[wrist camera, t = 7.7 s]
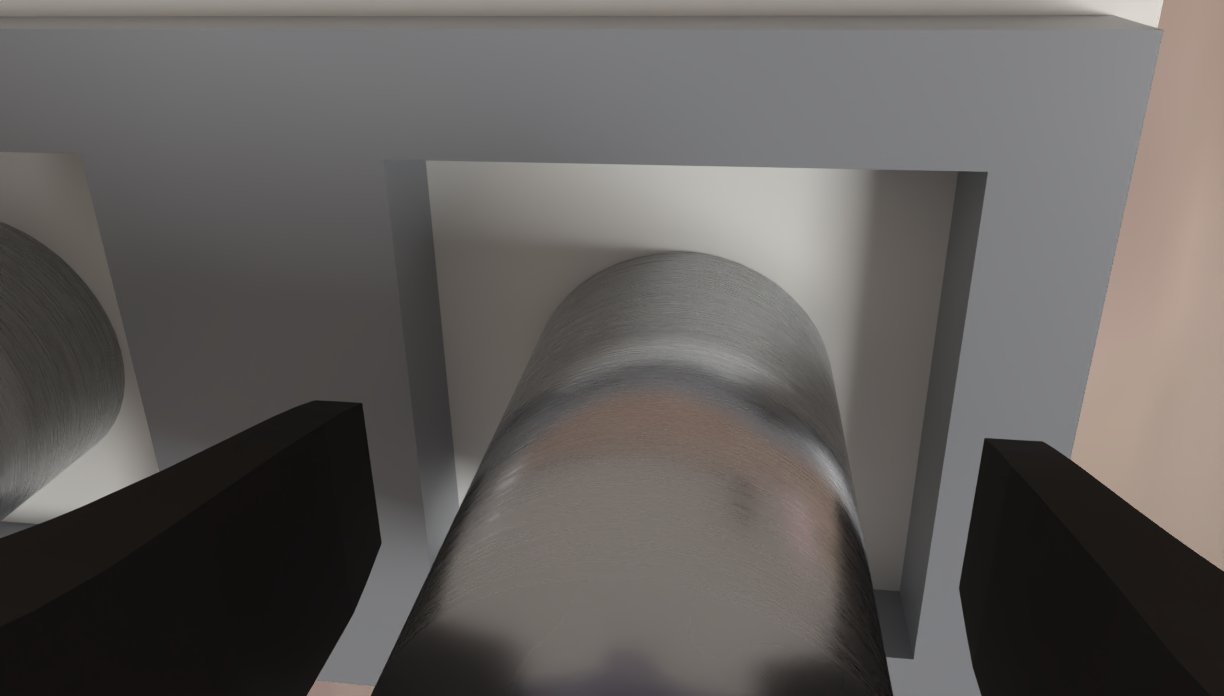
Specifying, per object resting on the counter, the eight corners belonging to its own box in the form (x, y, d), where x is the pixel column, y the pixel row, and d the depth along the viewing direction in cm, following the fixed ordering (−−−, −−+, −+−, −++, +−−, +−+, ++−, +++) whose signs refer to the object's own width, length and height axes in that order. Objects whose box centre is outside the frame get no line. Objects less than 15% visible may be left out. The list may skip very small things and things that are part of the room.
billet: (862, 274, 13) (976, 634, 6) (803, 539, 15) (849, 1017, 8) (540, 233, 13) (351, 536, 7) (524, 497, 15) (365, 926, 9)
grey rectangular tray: (1157, -128, 11) (1256, -136, 9) (990, 700, 17) (1025, 823, 14) (-412, -96, 14) (-633, -97, 12) (-121, 598, 20) (-235, 687, 17)
